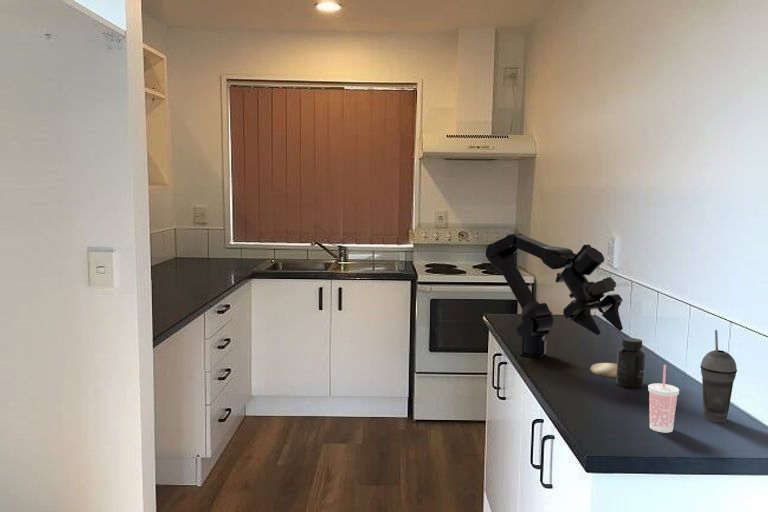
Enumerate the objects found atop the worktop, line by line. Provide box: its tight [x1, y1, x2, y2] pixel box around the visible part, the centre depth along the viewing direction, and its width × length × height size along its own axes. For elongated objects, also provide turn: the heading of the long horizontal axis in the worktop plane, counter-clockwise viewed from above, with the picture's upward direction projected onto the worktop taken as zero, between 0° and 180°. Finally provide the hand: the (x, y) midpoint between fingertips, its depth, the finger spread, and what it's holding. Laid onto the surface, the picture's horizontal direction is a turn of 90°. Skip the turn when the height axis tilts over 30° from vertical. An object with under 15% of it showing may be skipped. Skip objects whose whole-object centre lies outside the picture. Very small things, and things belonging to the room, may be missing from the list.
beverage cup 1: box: [647, 364, 680, 434], centre depth 135 cm, size 6×6×14 cm
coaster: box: [589, 362, 617, 379], centre depth 176 cm, size 12×12×1 cm
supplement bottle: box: [615, 337, 647, 389], centre depth 164 cm, size 7×7×12 cm
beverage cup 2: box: [699, 329, 738, 423], centre depth 140 cm, size 7×7×20 cm
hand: (610, 332), depth 169 cm, fingers open, 9 cm apart
